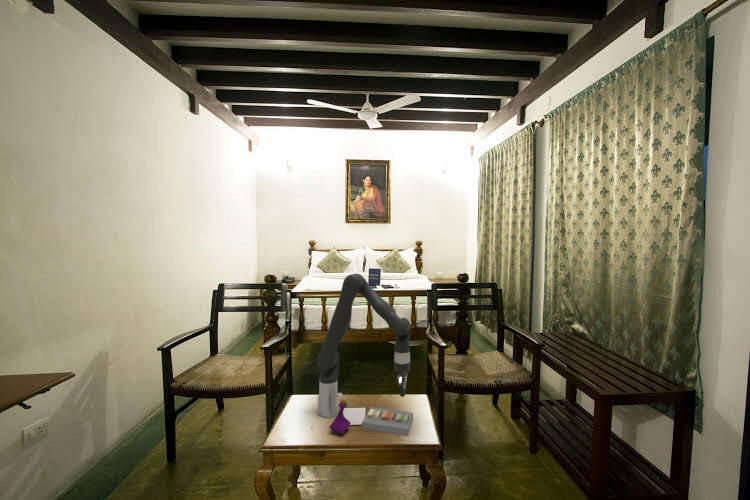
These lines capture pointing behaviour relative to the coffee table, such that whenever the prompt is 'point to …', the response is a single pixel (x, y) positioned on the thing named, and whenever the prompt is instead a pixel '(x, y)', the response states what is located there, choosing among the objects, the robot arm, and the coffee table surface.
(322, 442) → the coffee table surface
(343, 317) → the robot arm
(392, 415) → the terracotta tile
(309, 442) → the coffee table surface
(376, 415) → the cream tile
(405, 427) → the tile board
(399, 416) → the sage tile
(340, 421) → the perfume bottle
